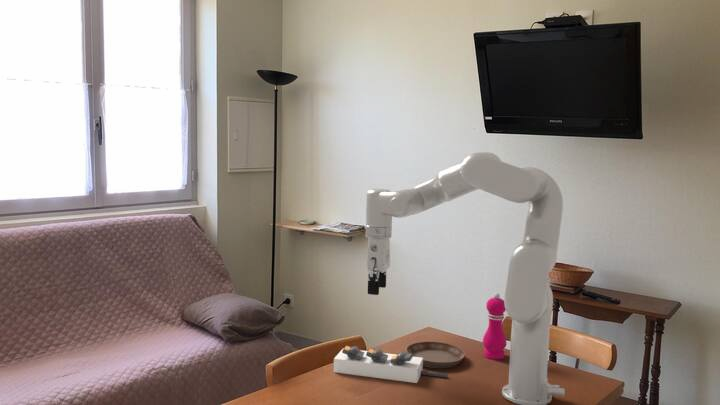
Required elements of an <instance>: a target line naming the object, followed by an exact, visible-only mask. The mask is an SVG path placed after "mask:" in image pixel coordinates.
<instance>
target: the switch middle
mask: <svg viewBox="0 0 720 405" xmlns="http://www.w3.org/2000/svg"><path fill="white" fill-rule="evenodd" d="M367 351H368V352H367V354H366V356H368V357H371V359H372V361H374V362H378V361H381V362H383V363H385V361H386V360H387V358H388V355H386V354H384V353H385V352H384V351H383V350H382V349H380V348H376V349H373V348H370V347H369V349H368V350H367Z"/></svg>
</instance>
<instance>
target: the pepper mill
mask: <svg viewBox="0 0 720 405" xmlns="http://www.w3.org/2000/svg"><path fill="white" fill-rule="evenodd" d="M485 307H486V310H487V315H486V316H487V318H488V327H487V329H486V331H485V332H484V335H483V338H482V346H484V349H483V356H484V357H485V358H487V359H490V360H494V361H497V360H503V359H504V358H505V350H504V349H505V348H506V346H507V338H506V335H505V332H504V330H503V320H504V319H505V314H504V313H505V312H506V309H505V304H504V300H503V299H502V298H501V297H500V294H499V293H498V292H495V293H494V294H493V297H491V298H489V299H488V300H487V302H486V306H485Z"/></svg>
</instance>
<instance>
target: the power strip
mask: <svg viewBox="0 0 720 405" xmlns="http://www.w3.org/2000/svg"><path fill="white" fill-rule="evenodd" d="M344 348H345V347H344ZM344 348H342V349H341V350H340V351H339V353H338V354H337V355H335V357H334V358H333V373H336V374H345V375H352V376H361V377H367V378H368V377H370V378H376V379H382V380H383V379H384V380H389V381H391V380H392V381H399V382H406V383H414V384H417V383H418V382H419V380H420V377H421V375H422V376H430V377H437V378H438V377H439V378H444V379H445V378H448V377H449V374H448V373H447V372H439V371H431V370H430V371H429V370H423V368H424V366H423V358H421V357H412V359H411V361H407V362H405V363H404V364H403V365H398V364H397V363H393V364H391V361H390V360H391V358H392V357H393V356H396V355H397V354H394V353H385V352H383V353H384V354H386V355H388V358H387V360H386V361H385V363H383V362H381V361H378V362H374V361H372V359H371V357H368V356H366V354H367V352H368V350H363V349H362V350H361V349H359V350H360V351H362V352H365V353H364V356H363V357H362V358H361V360H359V359H357V358H354V359H350V358H348V356H347V354H344V353H342V351H343V349H344Z"/></svg>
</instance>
